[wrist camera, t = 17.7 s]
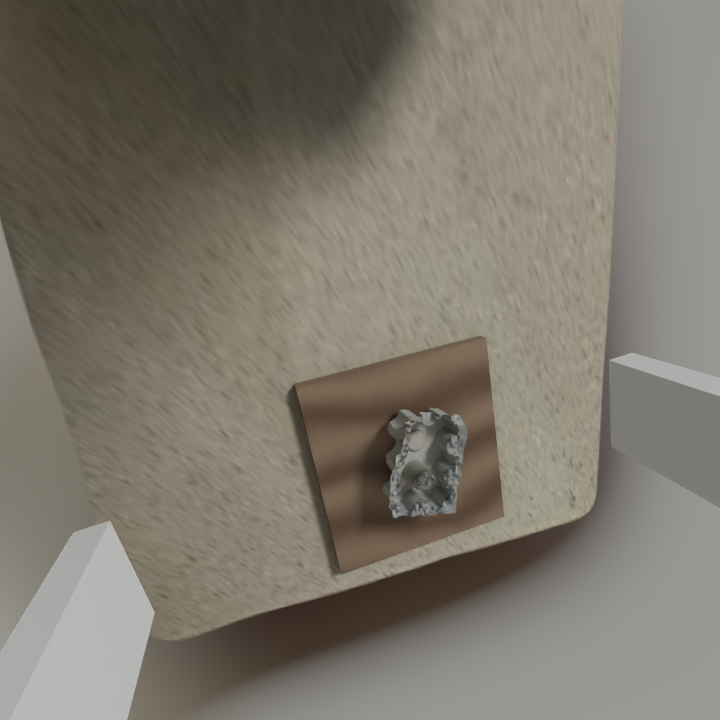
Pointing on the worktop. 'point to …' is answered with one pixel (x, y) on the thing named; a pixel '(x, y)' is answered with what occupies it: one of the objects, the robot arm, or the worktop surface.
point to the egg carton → (425, 462)
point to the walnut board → (373, 441)
